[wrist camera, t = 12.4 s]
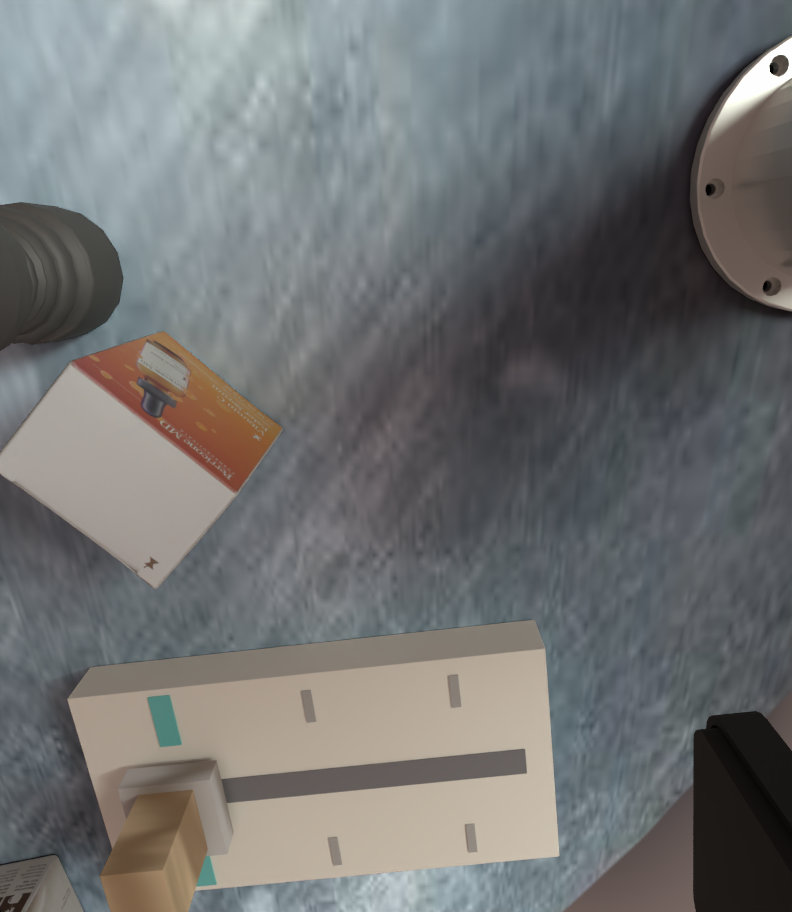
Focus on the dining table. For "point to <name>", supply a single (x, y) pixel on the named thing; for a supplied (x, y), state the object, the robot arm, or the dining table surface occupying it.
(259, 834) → the console
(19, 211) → the candle holder
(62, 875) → the coffee box
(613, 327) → the dining table surface
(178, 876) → the fader
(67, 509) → the small box
